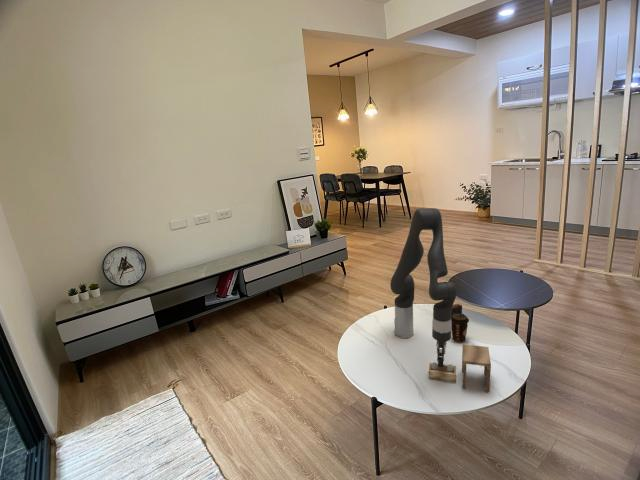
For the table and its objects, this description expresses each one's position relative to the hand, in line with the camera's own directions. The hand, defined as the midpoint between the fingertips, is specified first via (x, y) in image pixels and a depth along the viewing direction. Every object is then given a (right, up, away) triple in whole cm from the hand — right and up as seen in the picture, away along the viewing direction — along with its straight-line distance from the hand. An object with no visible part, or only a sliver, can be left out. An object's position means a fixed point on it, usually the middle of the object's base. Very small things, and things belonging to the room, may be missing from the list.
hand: (441, 360), depth 151 cm
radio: (+18, +6, +44) cm, 48 cm away
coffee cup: (+18, +1, +27) cm, 33 cm away
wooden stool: (+13, -8, -3) cm, 16 cm away
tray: (+1, -7, +2) cm, 8 cm away
